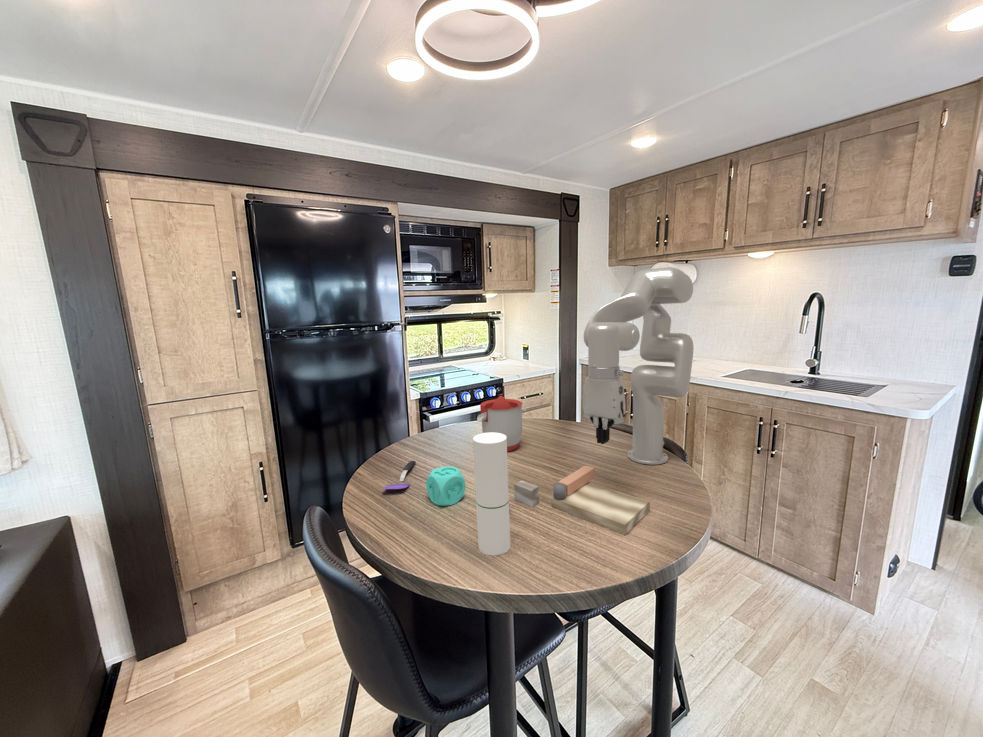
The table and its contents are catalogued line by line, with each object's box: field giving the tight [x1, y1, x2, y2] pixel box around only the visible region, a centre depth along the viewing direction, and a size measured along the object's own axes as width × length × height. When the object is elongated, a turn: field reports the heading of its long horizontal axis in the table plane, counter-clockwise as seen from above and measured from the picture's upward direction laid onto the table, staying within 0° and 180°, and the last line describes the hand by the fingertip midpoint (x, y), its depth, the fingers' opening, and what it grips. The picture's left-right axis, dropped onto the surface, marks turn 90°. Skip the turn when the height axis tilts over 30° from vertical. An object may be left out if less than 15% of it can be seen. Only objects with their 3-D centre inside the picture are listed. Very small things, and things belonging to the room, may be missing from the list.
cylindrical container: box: [472, 432, 511, 557], centre depth 85 cm, size 7×7×25 cm
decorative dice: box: [425, 465, 466, 507], centre depth 108 cm, size 8×8×8 cm
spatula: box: [382, 460, 417, 490], centre depth 124 cm, size 24×7×2 cm, turn 177°
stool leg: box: [552, 465, 596, 499], centre depth 106 cm, size 17×3×3 cm, turn 136°
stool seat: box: [513, 480, 651, 536], centre depth 102 cm, size 17×30×4 cm, turn 46°
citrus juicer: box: [476, 395, 523, 452], centre depth 145 cm, size 16×17×20 cm
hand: (602, 442), depth 102 cm, fingers closed
